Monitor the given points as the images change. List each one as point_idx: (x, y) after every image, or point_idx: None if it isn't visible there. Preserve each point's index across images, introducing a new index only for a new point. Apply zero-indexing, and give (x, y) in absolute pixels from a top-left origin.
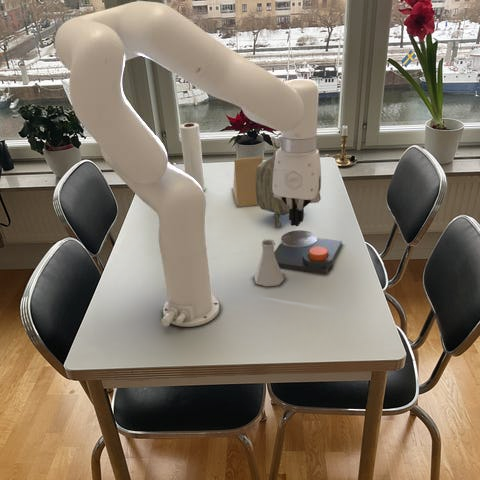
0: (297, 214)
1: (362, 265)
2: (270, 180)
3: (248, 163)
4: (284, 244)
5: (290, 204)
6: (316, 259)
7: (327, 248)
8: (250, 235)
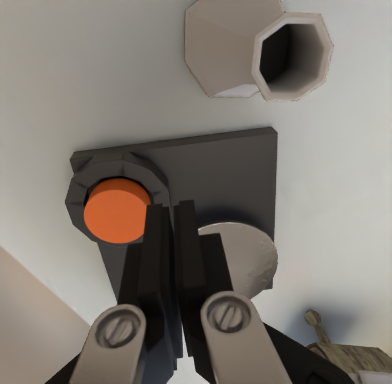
0: (141, 264)
1: (13, 240)
2: None
3: None
4: (253, 225)
5: (224, 336)
6: (109, 181)
7: None
8: (369, 256)
